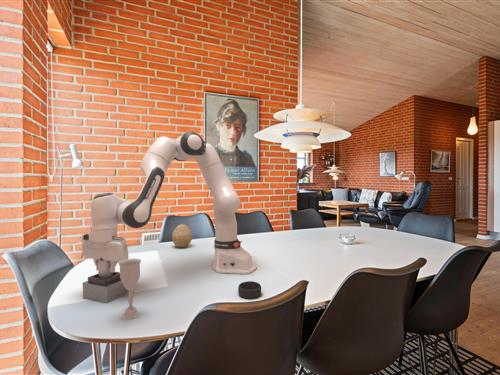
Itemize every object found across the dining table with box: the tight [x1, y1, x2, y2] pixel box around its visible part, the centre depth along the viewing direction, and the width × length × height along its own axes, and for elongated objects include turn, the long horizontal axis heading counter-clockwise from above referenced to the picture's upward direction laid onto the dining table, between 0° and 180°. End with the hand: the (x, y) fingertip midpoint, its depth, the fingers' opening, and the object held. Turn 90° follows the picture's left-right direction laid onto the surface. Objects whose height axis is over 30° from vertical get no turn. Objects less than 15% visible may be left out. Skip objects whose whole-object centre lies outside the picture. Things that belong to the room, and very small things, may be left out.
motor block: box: [82, 271, 129, 304], centre depth 110 cm, size 16×10×8 cm, turn 69°
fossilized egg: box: [171, 223, 193, 248], centre depth 183 cm, size 13×13×15 cm
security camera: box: [97, 258, 113, 279], centre depth 109 cm, size 5×5×8 cm
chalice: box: [117, 258, 142, 320], centre depth 93 cm, size 7×7×18 cm
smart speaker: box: [237, 280, 262, 300], centre depth 109 cm, size 9×9×4 cm
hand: (105, 271), depth 109 cm, fingers closed on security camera, 5 cm apart
